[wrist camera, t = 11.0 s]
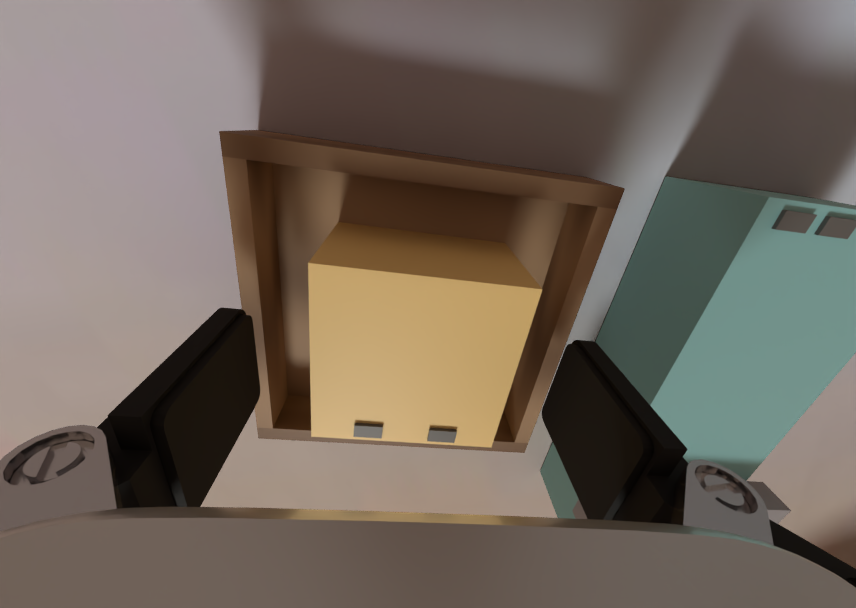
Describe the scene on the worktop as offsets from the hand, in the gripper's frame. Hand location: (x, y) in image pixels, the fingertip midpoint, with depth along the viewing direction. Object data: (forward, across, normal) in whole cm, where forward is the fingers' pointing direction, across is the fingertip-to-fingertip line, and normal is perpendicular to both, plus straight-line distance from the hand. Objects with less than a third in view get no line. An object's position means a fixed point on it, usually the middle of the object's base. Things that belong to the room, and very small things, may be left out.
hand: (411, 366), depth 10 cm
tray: (+4, 0, 0) cm, 4 cm away
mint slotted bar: (+4, -12, +2) cm, 12 cm away
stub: (+4, 0, 0) cm, 4 cm away
